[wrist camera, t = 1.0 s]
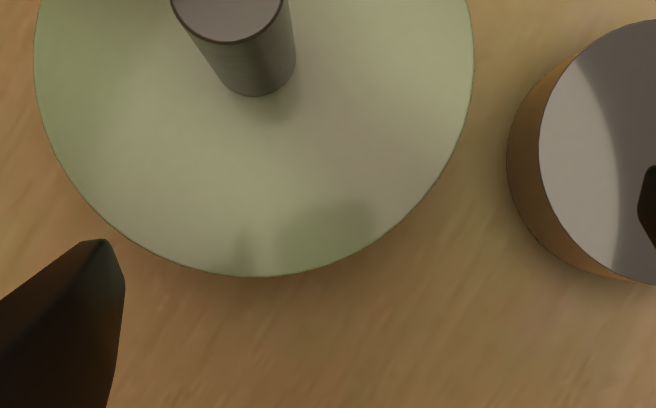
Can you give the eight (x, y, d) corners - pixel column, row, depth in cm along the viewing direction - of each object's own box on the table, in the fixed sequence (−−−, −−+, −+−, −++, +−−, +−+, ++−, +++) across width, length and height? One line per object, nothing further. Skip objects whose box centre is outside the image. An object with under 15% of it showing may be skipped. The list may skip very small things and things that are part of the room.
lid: (353, 346, 18) (369, 411, 12) (-23, 160, 18) (-204, 126, 12) (533, -25, 18) (641, -151, 12) (167, -204, 19) (89, -419, 12)
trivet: (635, 326, 23) (690, 344, 20) (458, 172, 24) (482, 163, 20) (782, 151, 24) (862, 139, 20) (607, 1, 24) (656, -37, 20)
